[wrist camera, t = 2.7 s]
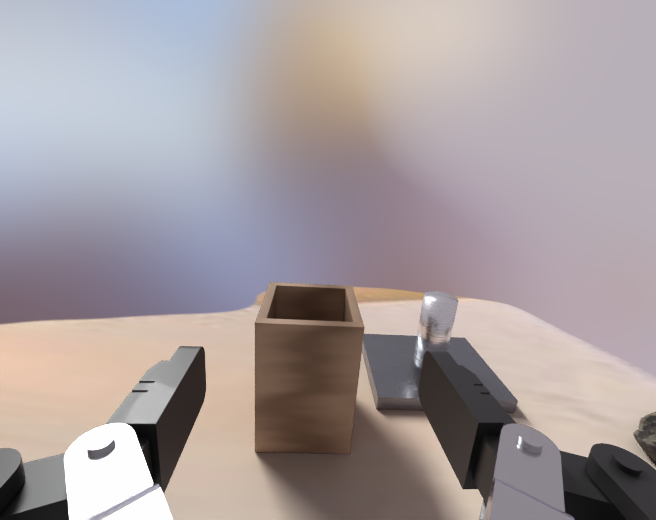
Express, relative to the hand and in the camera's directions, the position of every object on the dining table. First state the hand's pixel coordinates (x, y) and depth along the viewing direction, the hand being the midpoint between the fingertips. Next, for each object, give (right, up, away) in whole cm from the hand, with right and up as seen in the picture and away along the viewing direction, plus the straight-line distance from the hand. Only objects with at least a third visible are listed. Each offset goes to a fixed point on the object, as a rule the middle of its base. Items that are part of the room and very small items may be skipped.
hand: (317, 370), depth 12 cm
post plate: (+10, -7, +20) cm, 24 cm away
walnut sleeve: (-1, -8, +14) cm, 16 cm away
